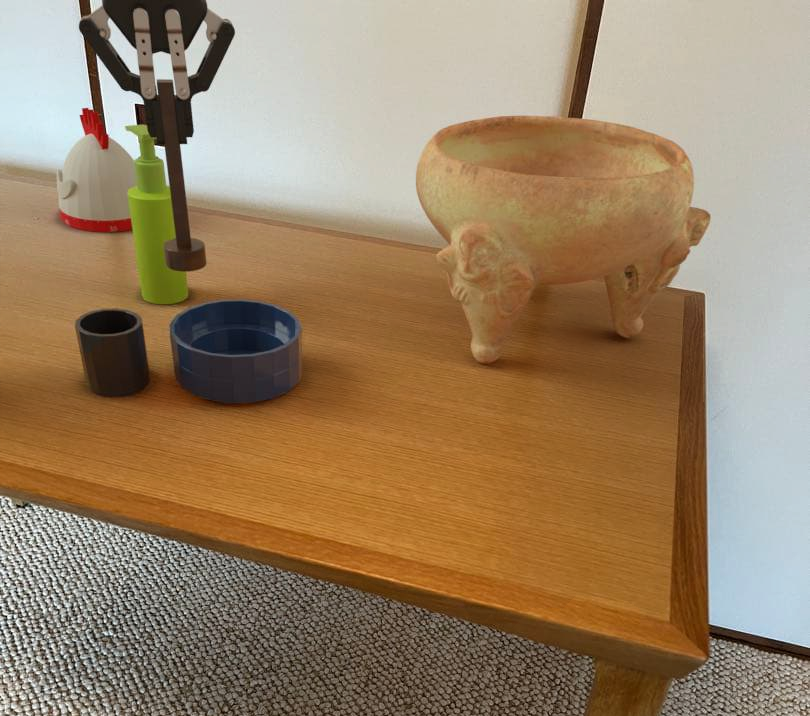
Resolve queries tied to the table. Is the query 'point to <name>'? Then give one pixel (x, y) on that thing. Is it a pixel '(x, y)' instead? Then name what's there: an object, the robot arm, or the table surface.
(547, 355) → the table surface
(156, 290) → the soap dispenser
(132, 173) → the kitchen timer
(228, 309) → the mixing bowl
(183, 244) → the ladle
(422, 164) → the decorative bowl
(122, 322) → the crock
